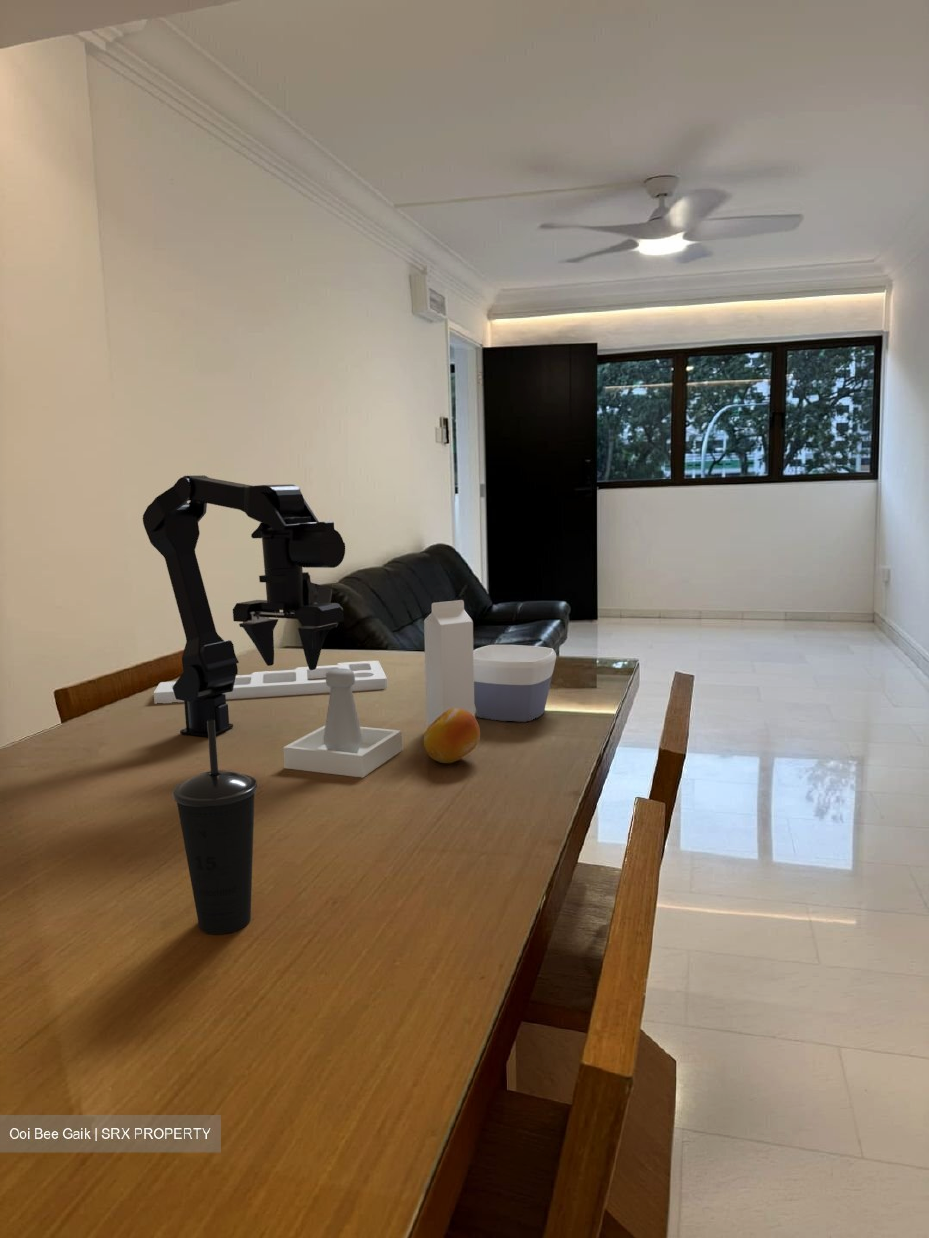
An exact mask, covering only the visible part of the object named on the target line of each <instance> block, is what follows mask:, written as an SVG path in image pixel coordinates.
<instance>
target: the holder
mask: <svg viewBox="0 0 929 1238" xmlns="http://www.w3.org/2000/svg"><path fill="white" fill-rule="evenodd" d="M339 668H344V669H349V670H352V671H353V673H354V676H355V683H354V684H353V685H352V686H351V688H352V692H359V691H361V692H362V691H373V690H387V689H388V678H387V675H386V674H385V672H384V669H383V667H382V665H381V663H380V661H379V660H365V661H351V662H350V661H347V662H345V661H344V662H337V664H336V665H335V664H334V665H333V664H332V665H319V666H318V665H317V667H316V669H315V670H309V667H308V666H299V667H298V666H297V667H295V669H285V670H268V671H253V672H252V673H251V674H241V675H239V674H237V675H236V678H235V683H234V687H233V691H232V692H227V693H223V694H225V695H226V700H235V699H236V700H237V699H251V698H252V699H253V698H266V697H267V698H268V697H281V696H282V697H283V696H298V695H299V696H300V695H310V694H311V695H313V694H314V695H315V694H328V693H329V694H330V689H331V687H329V686H327V683H326V674H327V673H328V671H330V670H333V669H339ZM311 679H312V680H311ZM313 679H315V680H313ZM176 682H177V680H176V681H175V680H174V681H161V682H159V683H158V685H157V687H156V689H154V691H153V699H154V701H153V703H154V704H155V705H158V704H157V703H163V704H173V703H172V702H178V703H184V701H183V700H178V699H176V698H175V695H174V691H173V686H174V684H175V683H176Z"/></svg>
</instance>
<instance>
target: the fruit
mask: <svg viewBox="0 0 929 1238" xmlns="http://www.w3.org/2000/svg"><path fill="white" fill-rule="evenodd" d="M474 716H475V715H474ZM474 716H473V715H472V714H471V713H469V712H468V711H465V710H463V709H459V708H454V709H449V710H447V711H446V712H445V713H443V714H442V715H441V716H440V717H438V718H437V719H436V720H435V721H434V722H433V723H432V724H431V725H430V726H429V727H428V729H427V728H426V730H425V732H424V735H423V745H424V748H425V751H426V752H427V753H426V754H427V755H429V757H430V758H431V759H433V760H434V761H436V762H439V763H443V764H452V763H455V762H456V761H459V760H461V759H462V758H463V757H465V756H467V755H468V754H470V753H471V752H473V750H475V749H476V747H477V745H478V744H479V742H480V739H481V730H480V725H479V722H478V720H477V719H476V717H474Z"/></svg>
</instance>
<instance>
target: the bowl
mask: <svg viewBox="0 0 929 1238" xmlns="http://www.w3.org/2000/svg"><path fill="white" fill-rule="evenodd" d="M473 659H474V709H475V711H476V715H477V717H478V718H479V719H483V718H486V719H485V720H489V719H492V720H491V721H496V720H500V721H499V722H506V721H518V722H517V723H528V722H527V721H529V722H531V720H532V721H534V720H536V719H538V718H539V717H541V716H542V715H543V714H544V712H545V709H546V705H547V702H548V701H547V700H548V695H549V691H550V686H551V681H552V677H553V673H554V669H555V664H556V660H557V654H556V651H555V650H554V649H553V647H551V648H550V647H545V646H535V645H523V644H522V645H519V644H518V645H517V644H489V645H485V646H481V647H478V648H476V649H473ZM535 718H536V719H535ZM533 719H534V720H533Z"/></svg>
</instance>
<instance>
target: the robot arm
mask: <svg viewBox="0 0 929 1238" xmlns="http://www.w3.org/2000/svg"><path fill="white" fill-rule="evenodd" d="M208 504H210V505H214V506H219V507H224V508H229V509H234V510H239V511H241V512H244V513H245V514H246V516H247V517H248V518H250V519H252V520H255V521H257V522H259V525H258V526H257V528H256V529H255V530H254V531H253V532H252V533H251V534H250V535H251V536H250V537H251V538H252V539H261V542H262V554H263V555H262V557H263V568H264V574H263V575H258V580H259V583H265V592H266V599H254V600H248V601H243V602H242V601H241V602H236V603H235V605H234V607H233V609H232V620H233V622H237V623H238V622H239V624H238V626H239V627H240V628H242V629H243V630H244V631H245V633H246V634H247V635H248V637H249V639H250V640H251V641H252V643H253V645H254V646H255V648H256V649H257V651H258V652H259V654H260V656H261V658H262V659H263V661H264V663H265V665H266V666H268V667H270V666H273V665H274V663H275V644H274V641H275V639H274V630H275V628H276V626H277V624H278V622H279V619H289V620H290V619H291V620H297V621H298V622H299V623H300V625H301V627H297V631H298V634H299V638H300V641H301V645H302V646H301V647H302V649H303V653H304V657H305V661H306V665H307V667H309V670H315V669H316V667H317V666H318V663H319V659H320V655H321V652H322V648H323V645H324V642H325V639H326V636H327V635H328V633H330V631H331V630H332V629H333V628H337V627H338V625H339V623H341V622H345V619H344V607H342V606H341V604H339V603H338V602H331V601H332V595H333V589H332V588H330V587H328V586H325V585H321V584H319V583H314V582H312V581H311V575H310V574H309V571H307V572H306V571H305V572H303V571H304V570H303V568H313V569H314V568H315V569H317V568H319V569H320V568H321V569H329V568H330V569H334V568H337V567H339V566H340V565H341V564H342V563H343V560H344V558H345V555H346V544H345V542H344V540H343V536H342V535H341V534H340V532H339V531H338V530H337V529H335V523H334V521H333V520H332V521H331V520H329V521H319V520H318V518H317V517H316V515H315V514H314V512H313V510H312V509H311V507H310V505H309V504H308V502H307V501H306V499H305V498H304V494H302V491H301V489H300V487H299V486H298V485H295V484H262V485H261V484H260V485H250V484H245V483H239V482H234V481H228V480H222V479H217V478H212V477H209V476H207V475H202V474H201V475H184V476H182V477H180V478H178V479H177V481H176V482H175V483H174V484H173V486H171V487H170V488H168V489H167V490H165V491H164V492H162V493H161V494H159V495H158V496H156V497H155V498H154V499H153V501H152V502H151V503H150V504H149V505H147V507H146V509H145V511H144V513H143V514H142V523H143V524H142V525H143V527H144V530H145V532H146V535H147V537H148V539H149V543H150V544H151V545H152V546H153V547H154V548H155V549H156V550H157V551H158V553H160V555H161V556H162V557H163V558H164V561H165V564H166V569H167V573H168V575H169V579H170V584H171V586H172V591H173V594H174V598H175V603H176V605H177V609H178V613H179V617H180V620H181V623H182V628H183V632H184V634H185V640H186V641H185V642H186V643H185V645H184V648H183V652H182V656H181V664H182V669H183V670H182V671H183V672H181V674H180V675H179V677H178V678H177V680H176V681H177V682H176V683H175V684H174V686H173V691H174V695H175V698H176V699H178V700H183V701H184V702H183V703H184V717H185V727H184V728H183V729H180V730H179V732H180V734H181V735H184V734H185V735H191V736H199V737H200V736H201V737H208V726H207V721H208V720H215V732H216V735H218V734H221V733H223V732H226V731H227V730H229V729H231V728H234V723H230V716H229V705H228V703H227V699H226V695H225V694H223V693H227V692H232V691H233V687H234V683H235V678H236V675H239V674H238V668H239V667H238V664H239V659H238V658H237V656H236V653H235V645H234V643H233V642H232V640H230V639H229V640H228V639H227V640H224V638H222V637H221V636H220V635H219V634H218V633H217V629H216V626H215V621H214V619H213V618H214V617H213V614H212V611H211V607H210V603H209V599H208V596H207V591H206V588H205V583H204V581H203V576H202V574H201V573H202V572H201V569H200V566H199V563H198V562H199V561H198V558H197V555H196V547H197V544H198V540H199V538H200V534H201V533H200V525H199V522H200V520H202V519H203V517H204V516H205V515H206V513H207V507H208ZM280 611H281V612H280Z"/></svg>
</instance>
